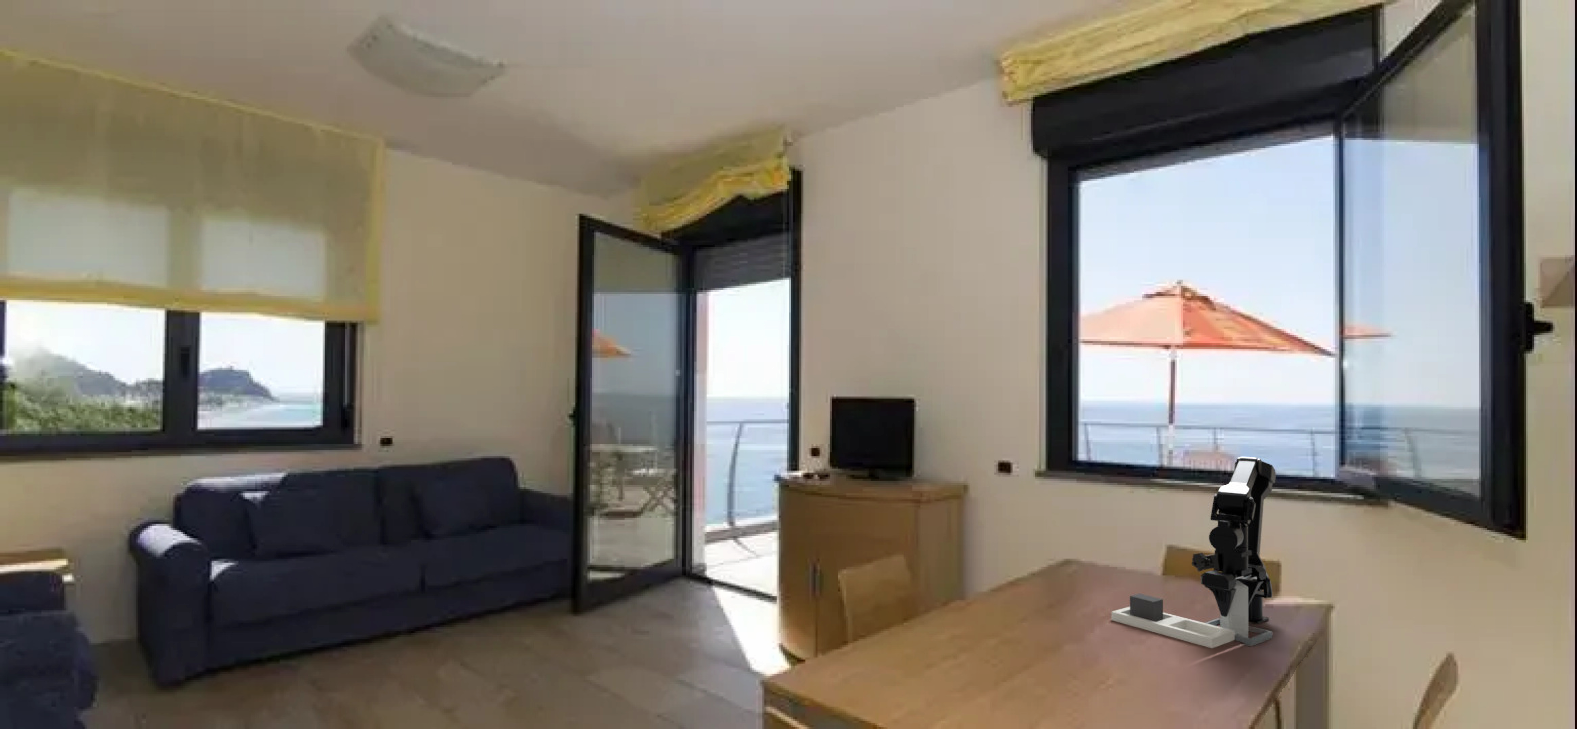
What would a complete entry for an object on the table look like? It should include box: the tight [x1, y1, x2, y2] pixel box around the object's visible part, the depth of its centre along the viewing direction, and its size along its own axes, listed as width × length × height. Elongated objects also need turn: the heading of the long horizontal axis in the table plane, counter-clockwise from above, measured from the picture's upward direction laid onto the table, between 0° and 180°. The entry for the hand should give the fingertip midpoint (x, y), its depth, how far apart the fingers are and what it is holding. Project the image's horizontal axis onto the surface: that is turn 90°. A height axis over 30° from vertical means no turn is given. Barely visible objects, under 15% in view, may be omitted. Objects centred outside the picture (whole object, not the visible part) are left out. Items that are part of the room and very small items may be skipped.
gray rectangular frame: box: [1205, 617, 1273, 647], centre depth 180 cm, size 10×12×2 cm
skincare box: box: [1219, 581, 1249, 638], centre depth 180 cm, size 6×4×12 cm
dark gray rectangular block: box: [1129, 593, 1164, 622], centre depth 187 cm, size 4×6×6 cm, turn 35°
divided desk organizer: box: [1110, 606, 1236, 649], centre depth 182 cm, size 10×24×2 cm, turn 35°
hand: (1234, 612), depth 180 cm, fingers open, 9 cm apart
